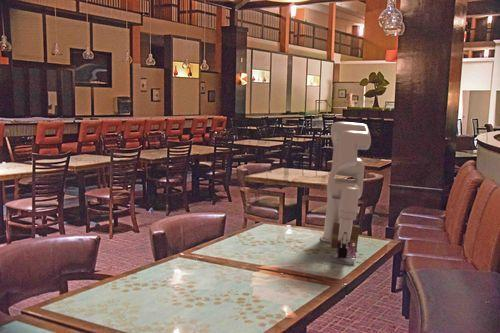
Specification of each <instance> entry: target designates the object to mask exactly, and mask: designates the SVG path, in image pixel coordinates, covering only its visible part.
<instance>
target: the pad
mask: <svg viewBox="0 0 500 333" xmlns="http://www.w3.org/2000/svg"><path fill="white" fill-rule="evenodd" d="M330 263H332V264H340V265H345V266H346V265H347V266H352V267H353V266H355V258H347V257H346V258H343V259H337V255H336V256H334V255H331V257H330Z"/></svg>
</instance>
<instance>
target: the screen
mask: <svg viewBox="0 0 500 333" xmlns="http://www.w3.org/2000/svg"><path fill="white" fill-rule="evenodd" d="M339 227H340V223H334V225H333V234H332V243H331V244H330V249H333V250H334V249H335V250H337V244H336V243H341V241H338V236H339ZM359 231H360V225H355V224H352V231H351V237H350V241H349V242H348V243H355V250H356V253H357V249H358V243H359V242H358V241H359V233H360V232H359ZM348 247H349V248H351V249H350V250H352V251H351V252H353V247H352V245H351V246H348Z"/></svg>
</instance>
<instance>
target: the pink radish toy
mask: <svg viewBox="0 0 500 333" xmlns="http://www.w3.org/2000/svg"><path fill="white" fill-rule="evenodd" d="M336 244H337V249H336V257H337V259H343V258H344V257H339V253H340V248H341V243H336ZM351 245H352V247H353V251H352V250H350V249H351V248H349V247H347V256H348V255H350V254H351V252H352V254H353V255H352V256H351V257H349V256H348V257H346V258H350V259H356V258H357V252H356V250H355V243H348V244H347V246H351Z"/></svg>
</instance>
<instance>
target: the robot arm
mask: <svg viewBox="0 0 500 333" xmlns="http://www.w3.org/2000/svg"><path fill="white" fill-rule="evenodd" d="M371 136H372V135H371V132H370V130H369V127H368V125H367V124H365V123H360V122H350V121H335V122H333V123H332V124H331V125H330V137H331V142H332V146H333V147H332V148H333V151H332V160H331V162H332V163H331V170H330V171H329V173H328V176H327V177H328V179H327V184H326V194H327V195H326V196H327V197H326V198H327V199H326V208H325V209H326V211H325V217H324V227H323V234H322V235H320V237H319V239H320V240H321V241H323V242H325V243H332V234H333V225H334V223H340V227H339V236H338V241H341V248H340V253H339V257H344V258H347V256H348V255H347V247H348V246H347V244H348V242H349V241H350V237H351V231H352V225H354V224H353V222H354V221H356V220H357V213H358V204H359V199H360V198H361V197H362V194H363V191H364V190H363V189H364V181H365V180H364V178H365V163H364V161H363V159H361V158H359V157H358V150H360V151H361V150H363V151H367V150H369V149H370V147H371V145H372V144H371V143H372V138H371ZM336 176H340V177H350V178H351V177H352V178H353V179H348V178H339V177H336Z"/></svg>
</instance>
